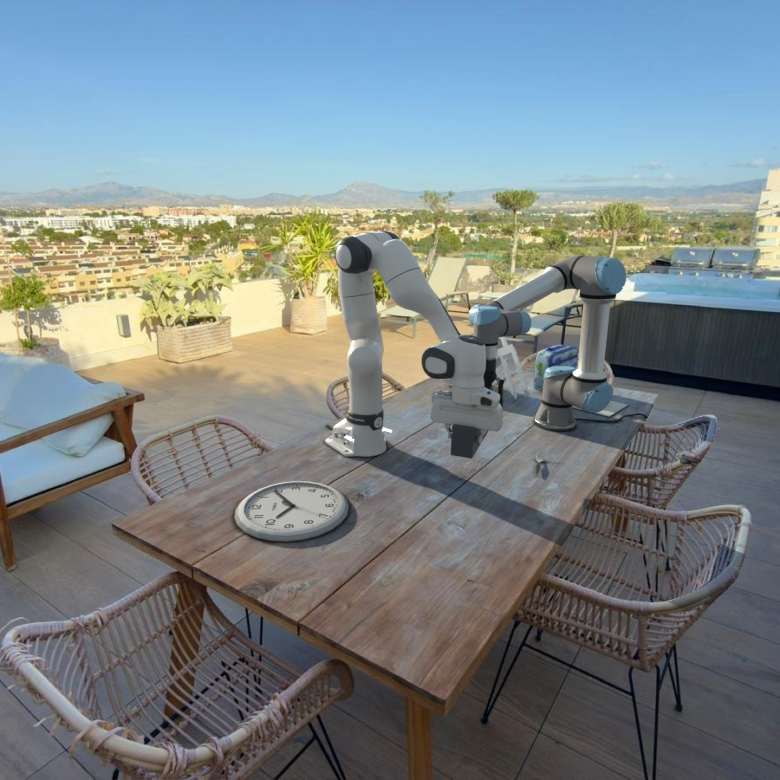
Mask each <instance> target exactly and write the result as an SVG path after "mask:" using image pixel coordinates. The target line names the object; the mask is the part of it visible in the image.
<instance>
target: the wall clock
mask: <svg viewBox="0 0 780 780" xmlns="http://www.w3.org/2000/svg"><path fill="white" fill-rule="evenodd" d="M349 509H350V506H349V501H348V499H347V498H346V497H345V496H344V494H343V493H342V492H341V491H339V490H337V489H336V488H333V487H332V486H329V485H326V484H324V483H321V482H314V481H306V480H305V481H302V480H293V481H283V482H278V483H274V484H270V485H266V486H264V487H261V488H259V489H257V490H255V491H253V492H252V493H250V494H248V495H247V496H246V497H245V498H243V499H242V500H241V501H240V502H239V504H238V505H237V507H236V508H235V511H234V521H235V523H236V525H237V527H238V528H239V529H240V530H242V532H244V533H245V534H247V535H249V536H251V537H253V538H256V539H260V540H265V541H269V542H287V543H288V542H297V541H304V540H308V539H312V538H315V537H319V536H321V535H324V534H326V533H328V532H331V531H332V530H334V529H335V528H337V527H338V526H339V525H341V524H342V523H343V522H344V520H345V519H346V518H347V516H348V514H349Z"/></svg>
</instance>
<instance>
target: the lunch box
mask: <svg viewBox="0 0 780 780" xmlns="http://www.w3.org/2000/svg"><path fill="white" fill-rule="evenodd" d="M578 358H579V351H578V347H577V346H571V345H565V344H556V345H553V346H549V347H546V348H544V349H541V350H539V351H538V353H537V354H536V357H535V361H534V371H533V372H534V373H533V389H534V390H535V391H539V392H542V390H543V379H544V374H545V370H546V369H547V368H549V367H555V366H569V367H575V368H576V369H577V367H578Z"/></svg>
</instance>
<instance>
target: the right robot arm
mask: <svg viewBox="0 0 780 780" xmlns="http://www.w3.org/2000/svg"><path fill="white" fill-rule="evenodd" d="M626 282H627V270H626V266H625V265H624V264H623V263H622V261H621V260H620V259H618V258H615V257H609V256H606V255H605V256H601V255H599V256H598V255H584V254H582V255H581V254H580V255H574V256H571V257H567V258H565V259H563V260H560V261H557V262H556V263H554V264H552V265H550V266H548V267H547V268H545V269H544V271H543V273H541V274H540V275H538V276H536V277H535V278H532V279H531V280H529V281H527V282H525V283H523V284H522V285H519V286H518V287H516V288H515V289H512V290H511V291H508V292H507V293H505V294H502V295H501V296H499V297H497V298H496V299H493V300H492V301H490V302H488V303H486V304H482V303H481V304H475V305H472V307H471V308H470V310H469V311H468V317H467V318H468V321H469V323H470V324H471V326H473V335H472V336H475V337H478V338H480V339H481V340H482V341H483V342H484V344H485V348H486V370H485V373H484V387H485V388H487V389H489V390H492V391H494V387H493V383H494V382H495V381H496V385H498V386H497V393H498V394H500V401H499V403H500V405H501V406H502V409H503V408H504V385H505V382H506V377H501V376H498V374H497V368H496V361H497V360H496V357H497V350H498V349H499V348H498V347H499V338H500V337H506V338H507V337H519V336H522V335H526V334H528V332H530V330H531V328H532V318H531V316H530V314H529V313H528V312H527V311H526V309H527V308H528V307H530V306H533V305H534V304H536V303H537V302H539V301H541V300H543V299H544V298H547V297H548V296H550V295H552V294H554V293H555V294H559V293H561V292H563V291H567V290H579V299H580V300H581V301H582V302H583V304H582V315H581V327H580V337H579V351H578V359H577V367H576V368H575V367H569V366H555V367H549V368H547V369H546V370H545V374H544V379H543V390H542V391H541V402H540V405H539V407H538V410H537V411H536V413H535V416H534V424H535V425H536V426H537V427H539V428H542V429H544V430H549V431H556V432H567V431H572V430H574V429H575V428H576V421H581V422H582V421H584V422H596V423H618V422H620V421H622V420H623V419H625V418H628V417H629V418H630V417H635V416H640V417H644V418H645V419H648V418H649V417H648V415H646V414H645V413H640V412H639V413H638V412H636V413H629V414H625V415H622V416H620V417H619V418H618V419H594V418H582V417H581V418H580V417H576V416H575V413H574V407H577V408H580V409H583V410H582V411H584V412H588V411H589V412H588V413H593V414H596V413H597V412H600V411H602V410H603V409H605V408H606V406H607V405H608V404H609V403H610V401H612V399H613V396H614V388H613V385H611V384H610V383H609V382H608V373H607V372H606V371H605V370H604V368H605V359H606V348H607V338H608V330H609V320H610V311H611V303H612V302H613V301H615V300H616V299H617V295H618V294H620V293H621V292H622V291H623V289H624V288H623V287H625V285H626ZM580 409H579V410H580ZM489 431H490V430H489ZM489 431H488V432H489ZM490 432H491V431H490Z"/></svg>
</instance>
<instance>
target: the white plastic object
mask: <svg viewBox="0 0 780 780" xmlns="http://www.w3.org/2000/svg"><path fill="white" fill-rule="evenodd" d="M499 338H500V342H501V345H502V347H500V348H498V349H497V357H496V360H497V361H496V369H497V368H499V367H500V366H502V370H503V373H504V376H505V377H504V378H505V381H506V383H507V386H508V390H509V393H510V394H511V395H512V397H513V398H514V399H515V400H517V392H516V391H517V390H516V388H515V385H514V381H513V378H512V375H511V371H510V369H509V365H508V361H510V360H513V363H514V366H515V369H516V372H517V376H518V380H519V382H520V385H521V389H522V391H523V393H524V395H525V396H526V397H528V396H531V395H530V390H529V388H528V387H529V386H528V384H527V381H526V378H525V375H524V371H523V369H522V368H523V367H522V366H521V362H520V359H519V355H518V352H517V349H516V347H515V346H514V345H513V343H511V344H508V341H507V337H499ZM440 381H442V383H443V384H444V385H445V386H449V385H452V380H451V379H440Z"/></svg>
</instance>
